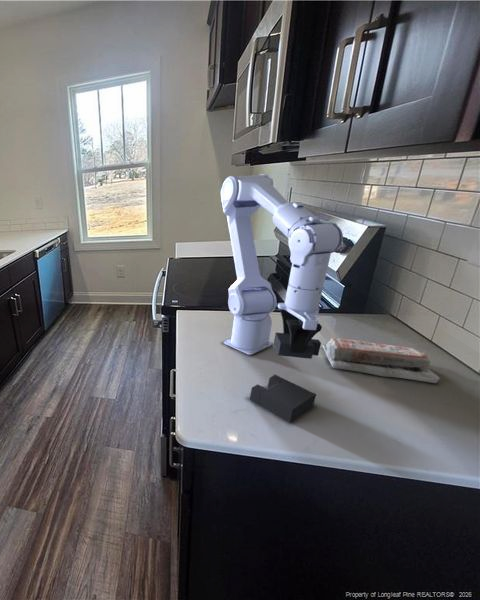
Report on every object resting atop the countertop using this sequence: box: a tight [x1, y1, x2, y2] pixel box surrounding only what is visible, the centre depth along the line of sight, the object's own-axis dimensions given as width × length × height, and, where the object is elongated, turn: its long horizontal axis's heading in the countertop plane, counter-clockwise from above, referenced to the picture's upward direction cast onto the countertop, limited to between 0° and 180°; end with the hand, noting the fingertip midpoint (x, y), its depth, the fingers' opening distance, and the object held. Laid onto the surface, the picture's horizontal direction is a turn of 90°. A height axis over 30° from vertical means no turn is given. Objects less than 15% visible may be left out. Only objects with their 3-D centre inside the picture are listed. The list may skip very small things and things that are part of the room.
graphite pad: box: [273, 332, 322, 360], centre depth 68 cm, size 5×8×3 cm, turn 70°
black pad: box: [249, 374, 317, 424], centre depth 63 cm, size 8×8×3 cm
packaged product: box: [322, 337, 440, 384], centre depth 73 cm, size 18×5×10 cm
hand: (292, 345), depth 68 cm, fingers closed on graphite pad, 5 cm apart
